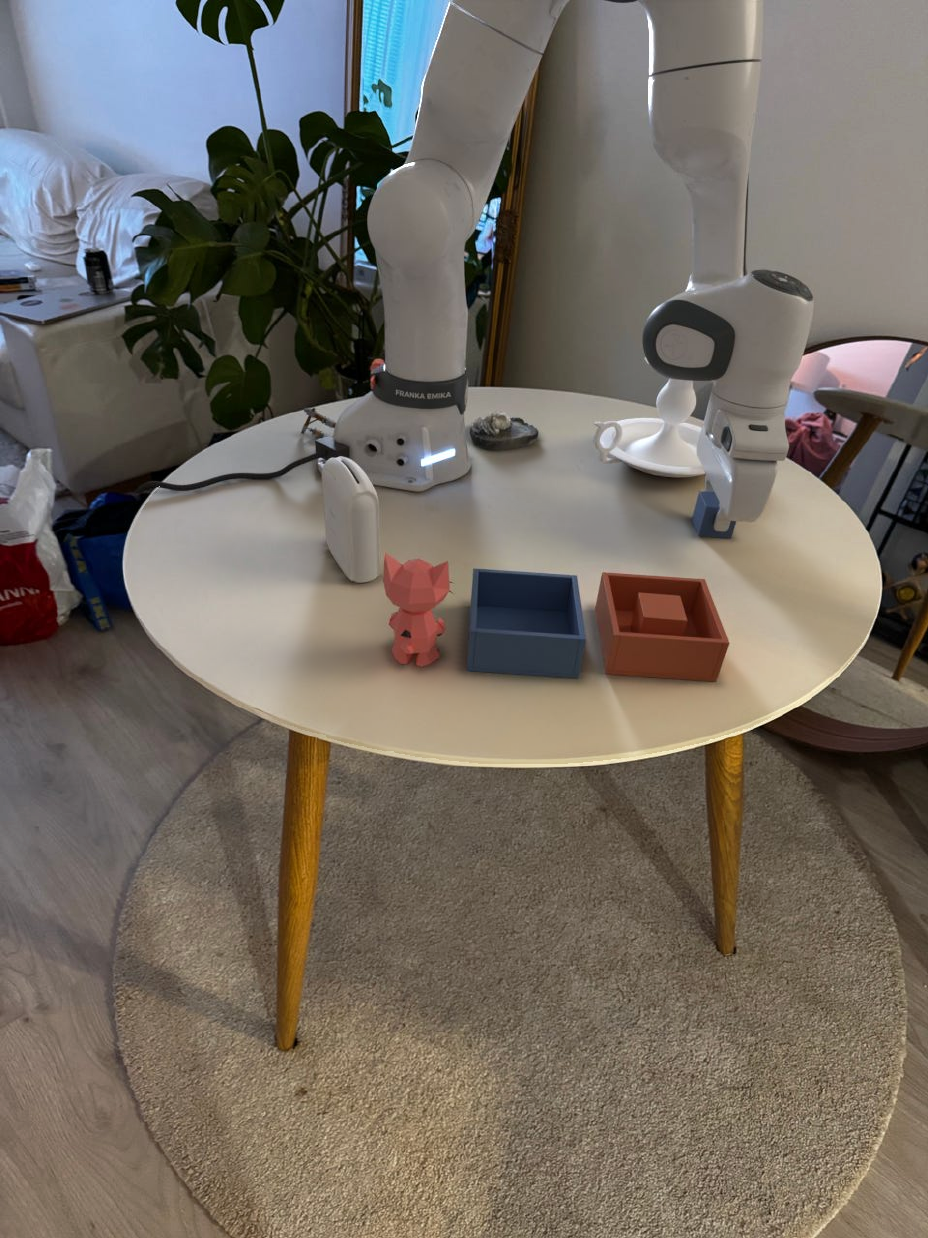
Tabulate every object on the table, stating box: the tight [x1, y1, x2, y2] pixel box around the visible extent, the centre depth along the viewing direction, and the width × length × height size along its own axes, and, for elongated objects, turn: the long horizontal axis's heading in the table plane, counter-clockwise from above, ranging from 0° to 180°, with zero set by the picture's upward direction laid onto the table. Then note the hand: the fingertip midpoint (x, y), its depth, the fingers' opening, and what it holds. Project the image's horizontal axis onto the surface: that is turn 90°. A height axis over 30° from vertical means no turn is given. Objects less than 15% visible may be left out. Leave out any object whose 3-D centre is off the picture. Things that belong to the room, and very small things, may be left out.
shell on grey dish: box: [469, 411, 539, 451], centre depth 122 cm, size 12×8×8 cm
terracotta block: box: [631, 593, 687, 636], centre depth 79 cm, size 4×4×4 cm
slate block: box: [691, 490, 737, 539], centre depth 100 cm, size 4×4×4 cm
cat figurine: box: [382, 552, 456, 668], centre depth 73 cm, size 7×7×12 cm
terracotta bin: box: [594, 571, 730, 683], centre depth 79 cm, size 11×11×5 cm
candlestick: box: [593, 273, 706, 478], centre depth 108 cm, size 21×25×28 cm
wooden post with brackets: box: [300, 407, 337, 438], centre depth 118 cm, size 2×8×4 cm, turn 88°
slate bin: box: [466, 567, 587, 679], centre depth 78 cm, size 11×11×5 cm
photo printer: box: [321, 456, 381, 583], centre depth 86 cm, size 10×4×12 cm, turn 26°
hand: (714, 517), depth 100 cm, fingers closed on slate block, 4 cm apart
